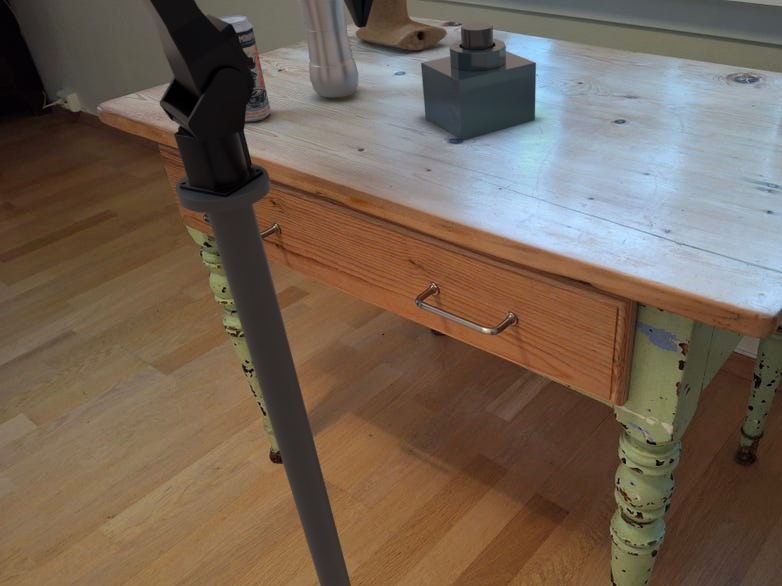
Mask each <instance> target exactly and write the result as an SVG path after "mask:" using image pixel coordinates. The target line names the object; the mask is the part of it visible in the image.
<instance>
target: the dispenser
mask: <svg viewBox="0 0 782 586" xmlns="http://www.w3.org/2000/svg"><path fill="white" fill-rule="evenodd" d="M420 67H421V80H422V94H423V104H424V117H425V120H427V121H428V122H430V123H432V124H434V125H436V126H437V127H439V128H440V129H442V130H444V131H445V132H447V133H449V134H451V135H453V136H454V137H456V138H457V139H460V140H462V141H463V140H467V139H470V138H474V137H477V136H481V135H485V134H489V133H493V132H495V131H500V130H503V129H506V128H510V127H513V126H517V125H521V124H525V123H528V122H532V121H535V120H536V91H537V90H536V89H537V87H536V85H537V84H536V83H537V80H536V79H537V62H535V61H533V60H530V59H528V58H525V57H523V56H520V55H517V54H516V53H512V52H510V51H507V46H506V42H505V41H503V40H500V39H497V38H493V48H491V49H486V50H477V51H473V50H464V49H462V42H461V39H458V40H456V41H454V42H452V43H450V44H449V56H446V57H445V56H444V57H441V58H436V59H432V60H427V61H422V62H420Z"/></svg>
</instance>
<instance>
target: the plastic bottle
mask: <svg viewBox="0 0 782 586" xmlns="http://www.w3.org/2000/svg"><path fill="white" fill-rule="evenodd" d="M297 3H298V5H299V9H300V12H301V16H302V21H303V25H304V26H305V27H304V30H305V34H306V39H307V49H308V58H309V62H308V72H309V81H310V83H311V85H312V89H313V90H314V92H315V93H316V94H317V95H318V96H320V97H323V98H341V97H347V96H350V95H352V94H354V93H356V91H357V89H358V87H359V70H358V67H357V64H356V62H355V61H356V60H355V58H354V56H353V51H352V48H351V43H350V39H349V34H348V27H347V26H348V25H347V23H346V22H347V18H346V17H347V16H346V4H345V2H344V0H297Z"/></svg>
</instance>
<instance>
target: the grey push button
mask: <svg viewBox="0 0 782 586" xmlns="http://www.w3.org/2000/svg"><path fill="white" fill-rule="evenodd" d="M460 38H461V39H460V40H461V42H462V49H464V50H473V51H477V50H486V49H491V48H493V39H494V25H493V24H492V23H490V22H487V21H486V22H485V21H474V22H473V21H471V22H467V23H463V24H462V25H460Z"/></svg>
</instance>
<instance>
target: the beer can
mask: <svg viewBox="0 0 782 586" xmlns="http://www.w3.org/2000/svg"><path fill="white" fill-rule="evenodd" d="M218 18H219V19H221V20H223V21H225V22H228V23H230V24H232V25H233V27H234V29H235V31H236V33H237V35H238V38H239V41H240V44H241V46H242V49H243V51H244V52H245V53H246V55H247V56H248V57H249V58H250V59H251V60H252V61H253V62H254V63H255V64H254V66H249V68H250V70H251V72H252V74H253V77H254V81H255V87H254V89H253V93H252V97H251V99H250V101H249V102H248V104H247V105H246V115H245V123H246V122H247V123H248V122H249V123H251V122H258V121H262V120H264V119H266V118H267V117H268V116H269V115H270V114H271V112H272V110H271V105H270V101H269V97H268V92H267V88H266V82H265V78H264V74H263V69H262V64H261V59H260V55H259V50H258V45H257V42H256V37H255V32H254V28H253V24H251V22H250V21H249V19H248V18H247V16H245V15H239V14H237V15H226V16H221V17H218Z"/></svg>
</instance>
